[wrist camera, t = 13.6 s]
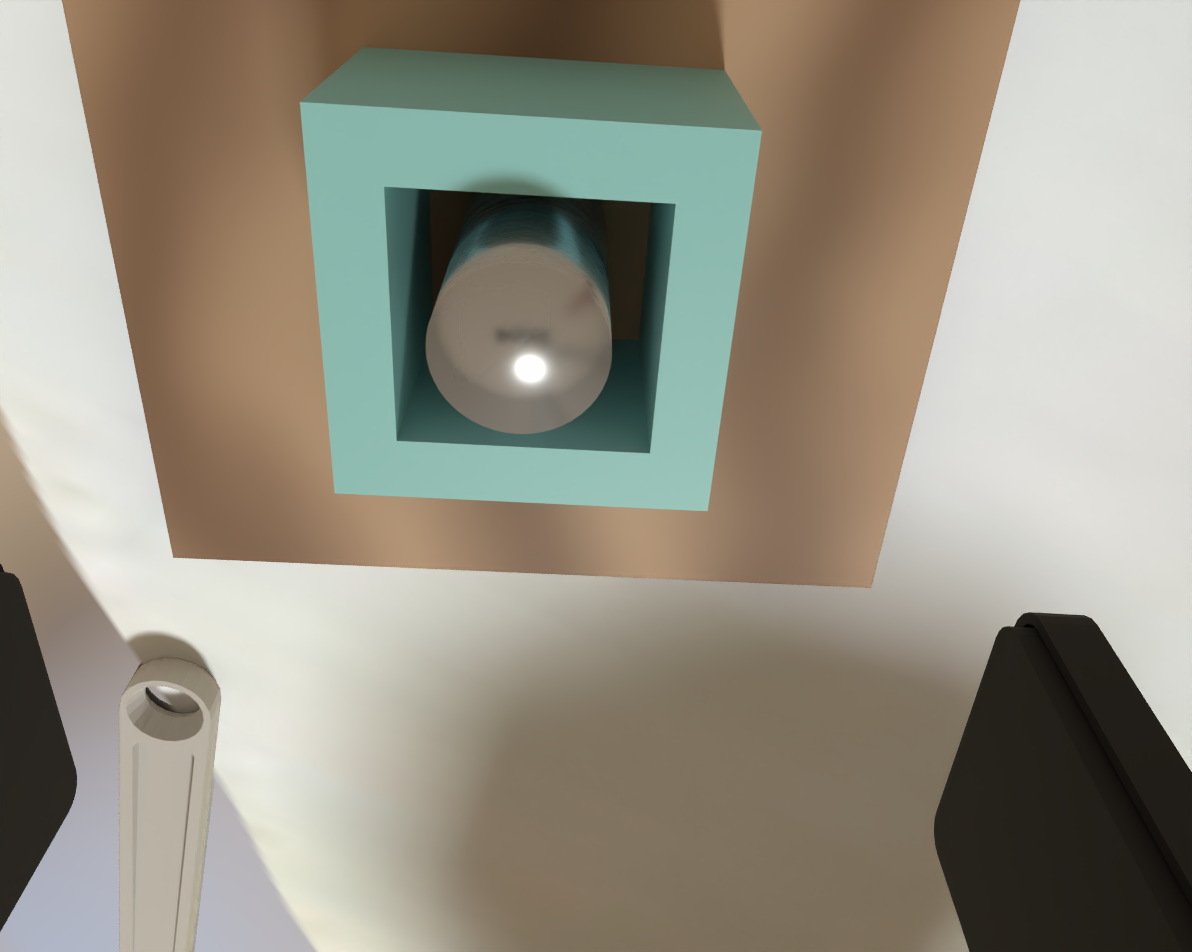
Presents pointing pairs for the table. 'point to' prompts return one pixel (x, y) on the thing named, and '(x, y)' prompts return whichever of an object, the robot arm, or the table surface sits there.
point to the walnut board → (767, 288)
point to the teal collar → (541, 168)
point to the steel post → (524, 313)
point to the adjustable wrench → (164, 805)
